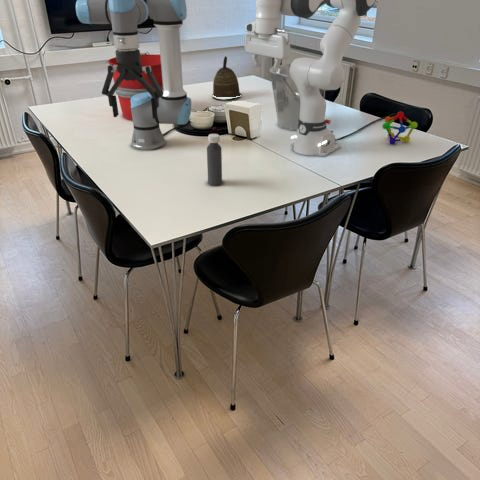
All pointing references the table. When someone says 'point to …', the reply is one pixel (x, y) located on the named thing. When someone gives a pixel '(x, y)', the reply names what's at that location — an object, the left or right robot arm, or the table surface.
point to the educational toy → (398, 128)
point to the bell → (225, 82)
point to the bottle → (214, 164)
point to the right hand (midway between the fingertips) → (266, 68)
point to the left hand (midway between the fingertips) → (135, 116)
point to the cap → (213, 138)
